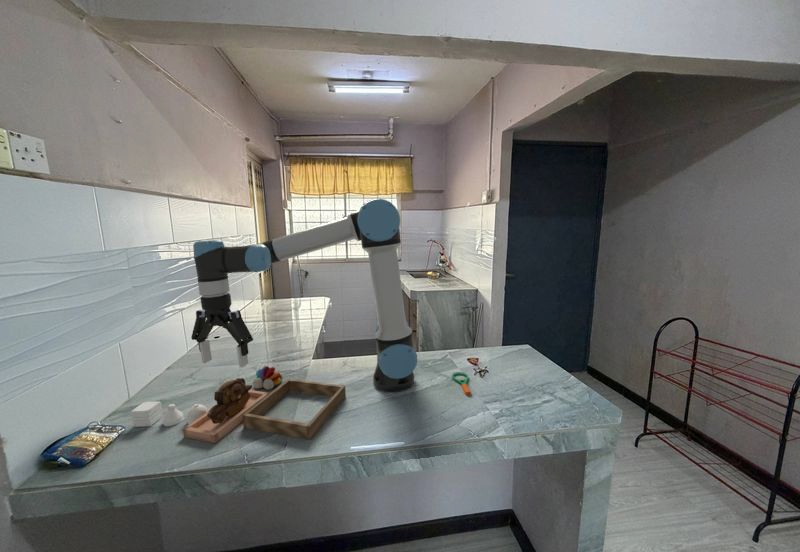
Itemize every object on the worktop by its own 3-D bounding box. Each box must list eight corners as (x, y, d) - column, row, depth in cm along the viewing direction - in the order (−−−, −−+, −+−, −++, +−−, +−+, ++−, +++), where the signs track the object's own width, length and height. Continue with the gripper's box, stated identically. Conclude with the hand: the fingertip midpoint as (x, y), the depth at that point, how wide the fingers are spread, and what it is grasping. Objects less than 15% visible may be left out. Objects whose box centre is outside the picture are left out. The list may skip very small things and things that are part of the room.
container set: (133, 428, 92) (130, 411, 91) (147, 417, 97) (144, 401, 96) (201, 425, 92) (199, 408, 91) (212, 415, 97) (209, 399, 96)
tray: (269, 399, 105) (268, 392, 104) (215, 443, 84) (214, 435, 84) (242, 395, 108) (242, 388, 107) (183, 437, 87) (182, 428, 87)
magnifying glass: (450, 375, 119) (450, 371, 119) (466, 374, 120) (466, 370, 119) (459, 396, 104) (459, 392, 104) (477, 396, 105) (477, 391, 104)
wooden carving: (222, 431, 88) (218, 398, 86) (207, 430, 88) (203, 397, 87) (256, 398, 104) (253, 370, 102) (244, 398, 104) (240, 370, 103)
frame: (345, 396, 105) (345, 385, 105) (310, 439, 84) (309, 426, 84) (289, 389, 111) (288, 378, 111) (243, 427, 90) (242, 415, 90)
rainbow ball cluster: (273, 392, 110) (271, 373, 109) (249, 390, 112) (247, 371, 110) (286, 380, 118) (285, 362, 117) (263, 378, 120) (262, 361, 119)
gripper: (260, 292, 90) (268, 361, 93) (193, 290, 97) (203, 355, 100) (241, 298, 83) (250, 372, 86) (169, 296, 89) (181, 365, 93)
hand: (225, 363), depth 93 cm, fingers open, 13 cm apart
